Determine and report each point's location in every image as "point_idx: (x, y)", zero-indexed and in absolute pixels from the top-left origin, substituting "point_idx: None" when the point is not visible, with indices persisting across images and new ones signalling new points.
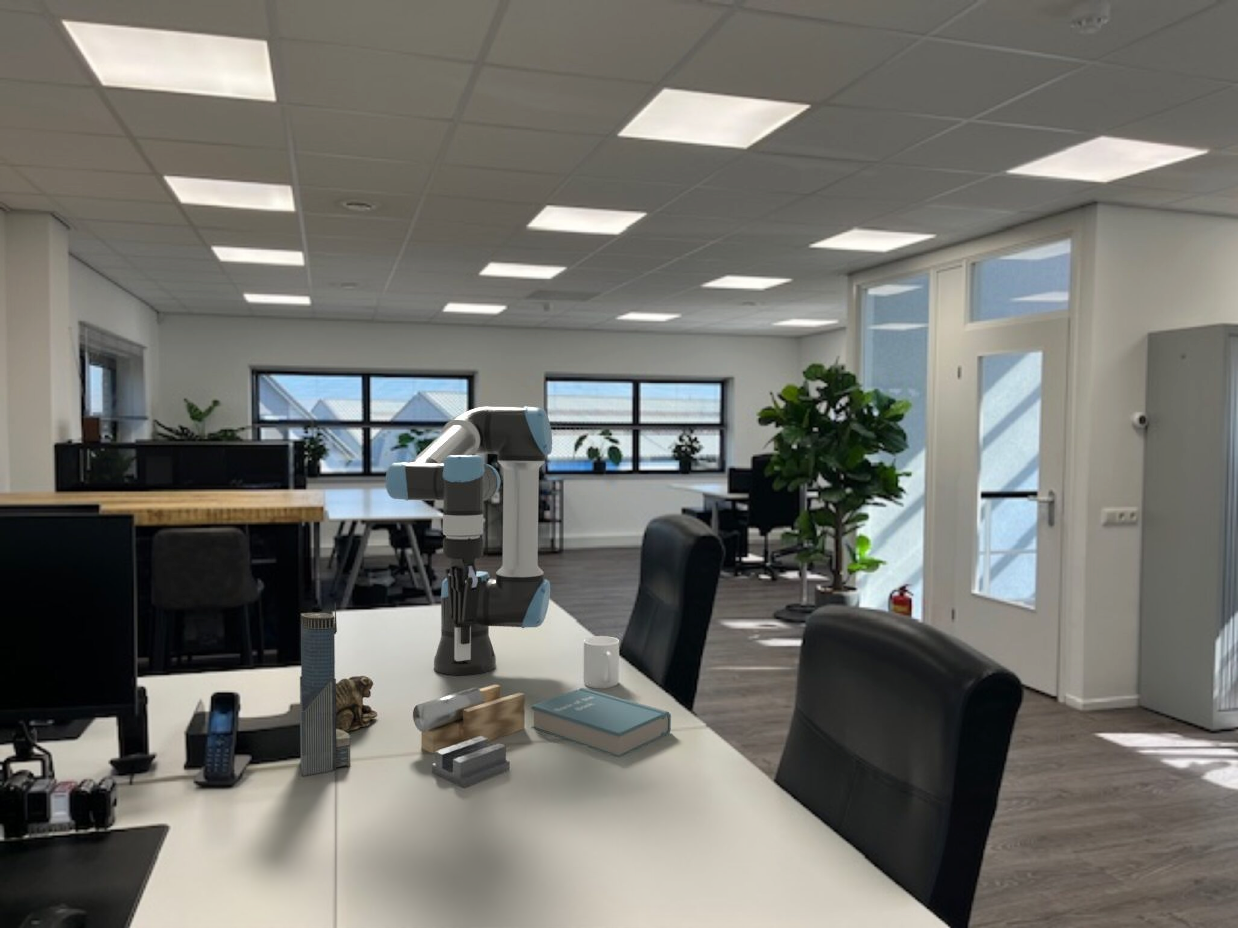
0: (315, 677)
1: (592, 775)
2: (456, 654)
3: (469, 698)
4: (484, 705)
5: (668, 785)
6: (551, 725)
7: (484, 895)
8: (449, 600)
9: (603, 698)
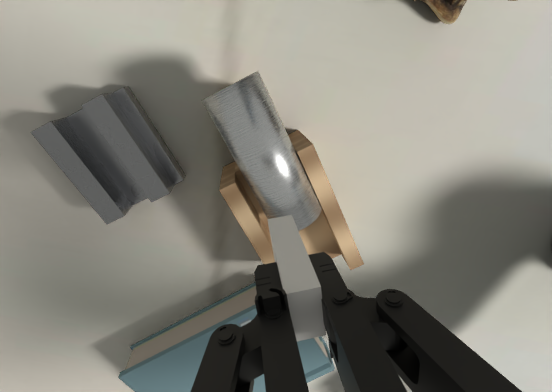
0: None
1: (71, 307)
2: (276, 227)
3: (265, 204)
4: (246, 225)
5: (25, 374)
6: (244, 299)
7: None
8: (476, 366)
9: None
